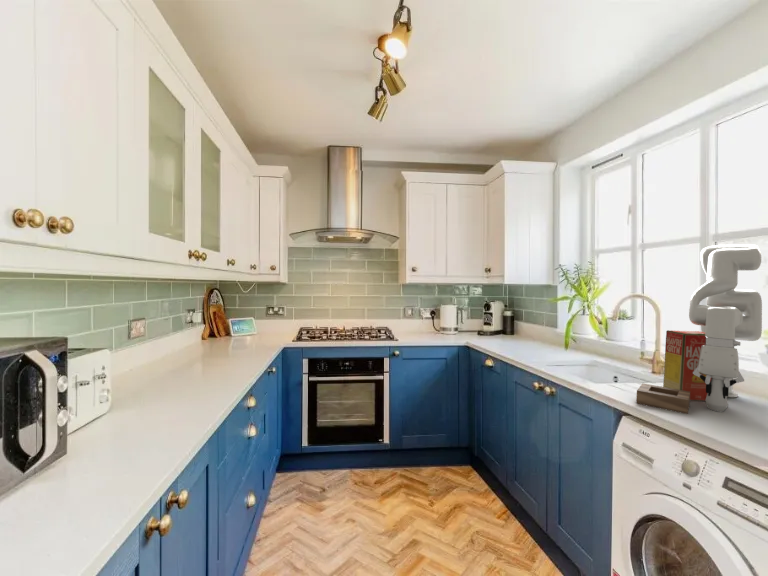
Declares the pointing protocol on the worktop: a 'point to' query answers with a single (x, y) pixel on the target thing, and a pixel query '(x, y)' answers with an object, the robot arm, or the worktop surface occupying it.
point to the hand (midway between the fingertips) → (716, 396)
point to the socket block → (663, 398)
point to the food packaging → (684, 363)
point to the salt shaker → (717, 395)
